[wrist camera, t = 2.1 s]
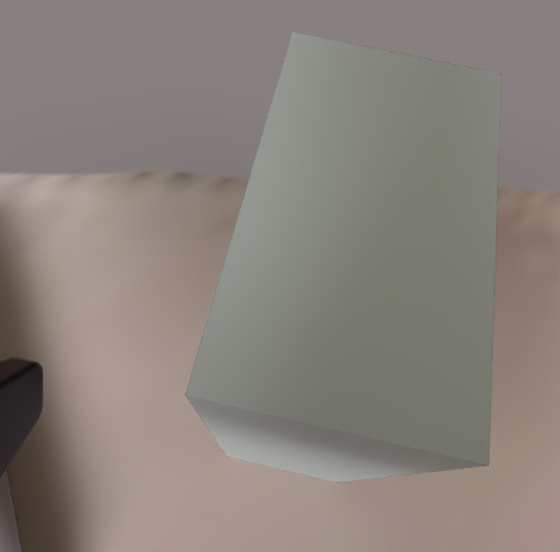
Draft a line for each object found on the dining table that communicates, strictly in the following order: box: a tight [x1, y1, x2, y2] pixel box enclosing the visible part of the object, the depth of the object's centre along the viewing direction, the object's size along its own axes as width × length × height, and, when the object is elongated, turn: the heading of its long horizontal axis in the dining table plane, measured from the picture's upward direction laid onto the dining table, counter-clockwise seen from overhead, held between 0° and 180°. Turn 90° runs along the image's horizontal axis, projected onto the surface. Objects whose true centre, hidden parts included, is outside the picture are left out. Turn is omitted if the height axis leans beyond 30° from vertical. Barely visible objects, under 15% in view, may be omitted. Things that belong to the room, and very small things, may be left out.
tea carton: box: [185, 32, 501, 483], centre depth 13 cm, size 7×4×12 cm, turn 168°
